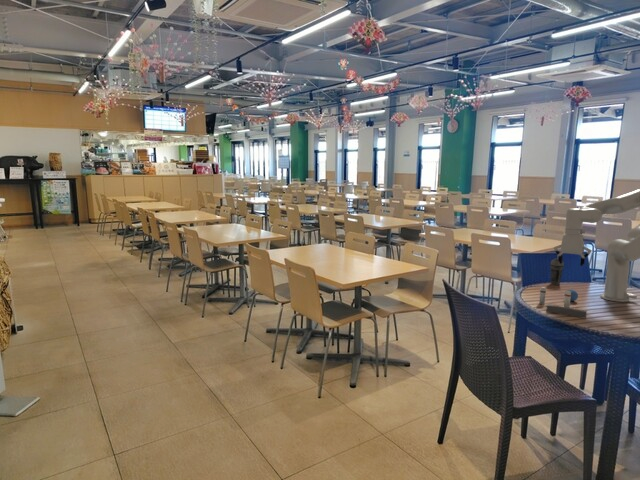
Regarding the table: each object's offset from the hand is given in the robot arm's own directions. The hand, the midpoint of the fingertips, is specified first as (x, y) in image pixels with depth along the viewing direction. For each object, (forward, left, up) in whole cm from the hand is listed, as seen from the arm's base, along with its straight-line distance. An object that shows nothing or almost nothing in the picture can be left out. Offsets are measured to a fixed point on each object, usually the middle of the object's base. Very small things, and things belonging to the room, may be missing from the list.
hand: (571, 264), depth 226 cm
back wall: (-3, +33, -18) cm, 37 cm away
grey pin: (+9, +22, -18) cm, 30 cm away
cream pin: (-2, +22, -18) cm, 28 cm away
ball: (-2, +7, -15) cm, 17 cm away
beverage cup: (+10, -27, -18) cm, 34 cm away
